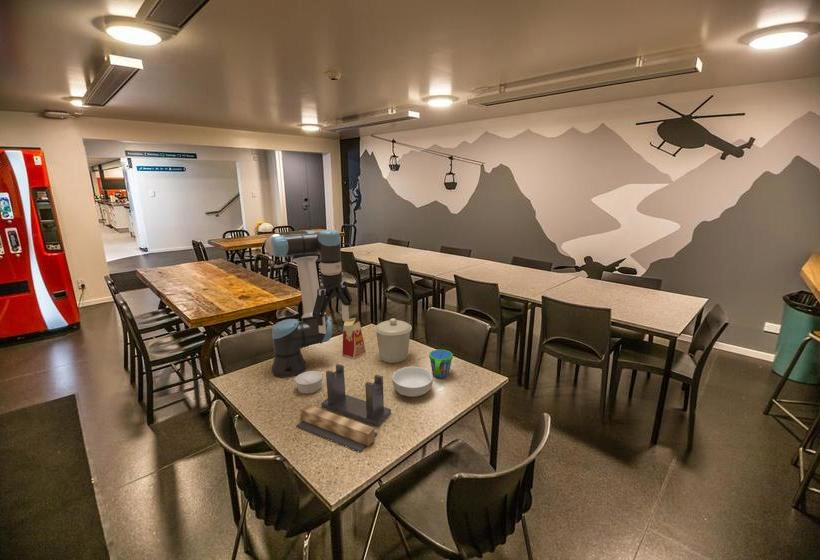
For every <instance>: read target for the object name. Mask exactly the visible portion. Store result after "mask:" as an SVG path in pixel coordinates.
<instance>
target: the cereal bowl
mask: <svg viewBox="0 0 820 560" xmlns="http://www.w3.org/2000/svg"><path fill="white" fill-rule="evenodd" d="M433 377H434V376H433V374H432V372H431V371H429V370H428V369H426V368H423V367H419V366H405V367H402V368H399V369H397V370H395V371H394V372H393V374H392V377H391V379H392V386H393V387H394V389H395V391H396V392H397V393H399V394H401V395H403V396H406V397H419V396H423V395H425V394H426V393H427V392H428V391H430V389H431V388H432V386H433V382H434V379H433Z"/></svg>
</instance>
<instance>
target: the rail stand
mask: <svg viewBox="0 0 820 560" xmlns="http://www.w3.org/2000/svg"><path fill="white" fill-rule="evenodd" d="M325 379H326V380H325V381H326V393H327V395H326V396H327V398H326V399H325V400H323V401H322V402H321V409H324V410H327V411H329V412H332V413H333V412H334V413H336V412H337V413H336V414H338V415H341V416H344V417H348V418H349V419H352V420H355V421H356V420H357V421H358V422H362V423H364V424H366V425H369V426H372V427H377V428H379V427H380V426H381V425H382V424H383V422H385V421H386V420H387V418H388V417H389V416H391V414H392V409H391V408H389V407H385V401H384V397H385V396H384V376H382V375H379V374H375V375H374V377H373V379H374V381H373V382H371V381H366V382H365V385H364V387H365V400H363V399H361V398H357V397H354V396H351V395H348V394H346V383H345V381H346V380H345V379H346V378H345V365H343V364H341V363H340V364H339V363H337V364H336V365H335V371H331V370H327V371H325Z"/></svg>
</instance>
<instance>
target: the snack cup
mask: <svg viewBox="0 0 820 560" xmlns="http://www.w3.org/2000/svg"><path fill="white" fill-rule="evenodd" d="M428 354H429V355H428V359H430V360H429V361H430V367H431V374H432V376H433V377H435V378H437V379H445V378H448V376H449V375H450V371H451V367H452V360H453V357H454V354H453V353H452V352H451V351H450V350H447V349H433V350H431V351H430V352H429V353H428Z"/></svg>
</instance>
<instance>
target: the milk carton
mask: <svg viewBox="0 0 820 560" xmlns="http://www.w3.org/2000/svg"><path fill="white" fill-rule="evenodd" d="M343 323H344V324H343V330H342V357H346V358H350V359H353V360H355V359H357V358H359V357H361V356H362V355H364V354H367V350H366V345H365V339H364V336H363V331H362V327H361V322H360V320H357V318H356V317H353V318H349V321H348V322H347V321H344V322H343Z"/></svg>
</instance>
